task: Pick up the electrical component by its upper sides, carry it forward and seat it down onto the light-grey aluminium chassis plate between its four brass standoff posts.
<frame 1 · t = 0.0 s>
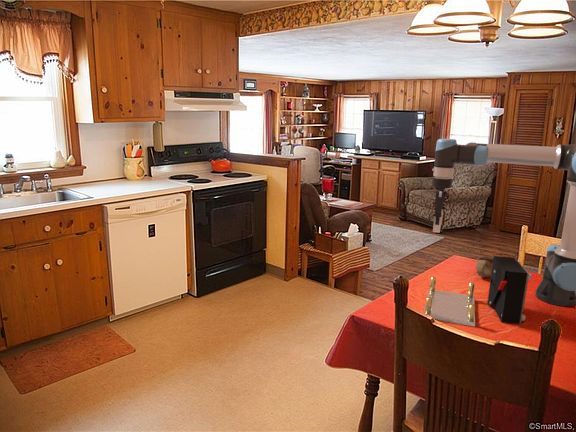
hand: (437, 228, 187), 28 cm above the table, fingers open, 13 cm apart
electrical component: (504, 313, 174), on the table
bowl: (488, 276, 212), on the table
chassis: (449, 307, 177), on the table
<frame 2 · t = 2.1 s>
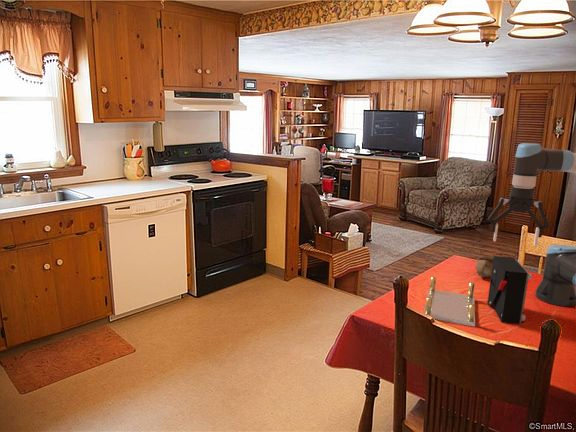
hand: (514, 243, 167), 28 cm above the table, fingers open, 13 cm apart
nothing on the table moved.
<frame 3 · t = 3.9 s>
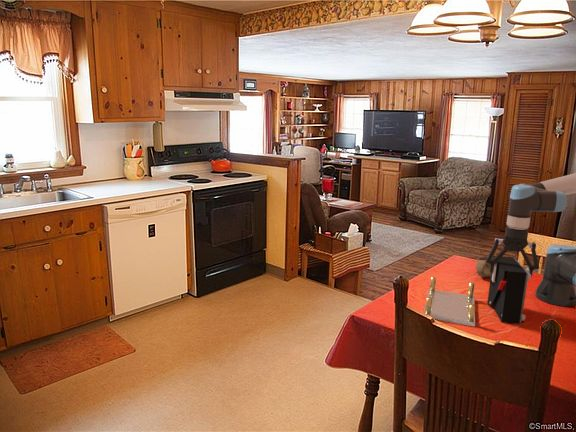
hand: (509, 283, 171), 12 cm above the table, fingers closed on electrical component, 10 cm apart
electrical component: (504, 313, 174), on the table, touching gripper
everything else where it was.
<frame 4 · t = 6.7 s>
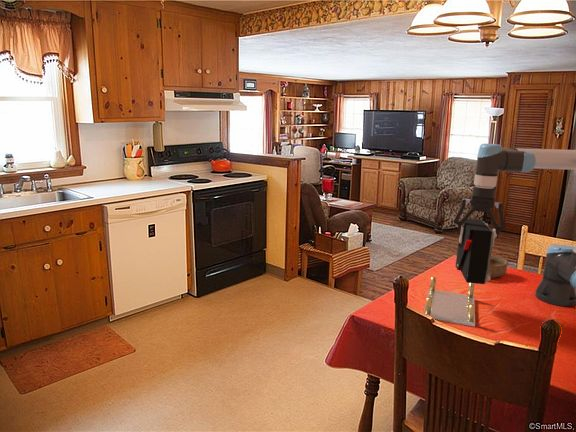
hand: (475, 244, 170), 27 cm above the table, fingers closed on electrical component, 10 cm apart
electrical component: (471, 275, 173), point 14 cm above the table, touching gripper
everything else where it was.
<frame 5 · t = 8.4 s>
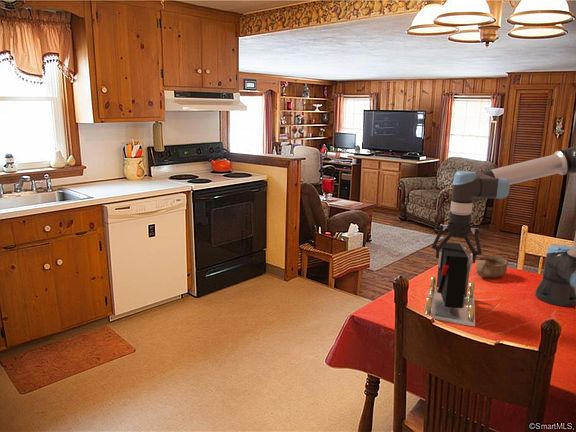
hand: (454, 268, 173), 16 cm above the table, fingers closed on electrical component, 10 cm apart
electrical component: (450, 298, 176), point 4 cm above the table, touching gripper
everything else where it was.
when the fingers open (14 cm above the table, at t = 9.4 s): electrical component stays where it is, resting on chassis.
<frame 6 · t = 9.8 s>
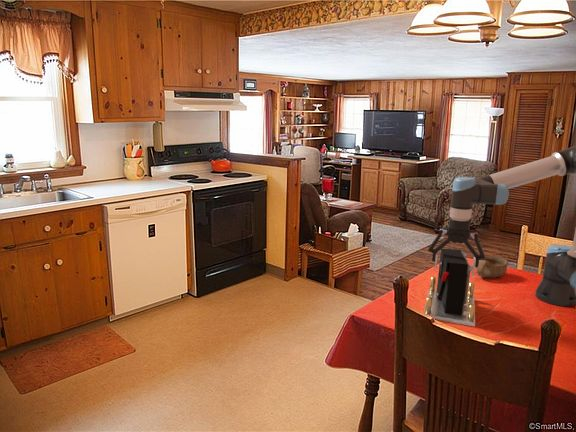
hand: (453, 272, 174), 15 cm above the table, fingers open, 13 cm apart
electrical component: (450, 304, 177), point 1 cm above the table, touching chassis
everything else where it was.
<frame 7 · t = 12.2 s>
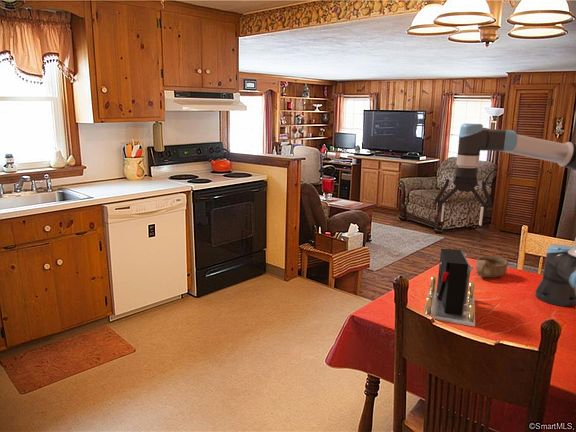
hand: (460, 222, 169), 35 cm above the table, fingers open, 13 cm apart
nothing on the table moved.
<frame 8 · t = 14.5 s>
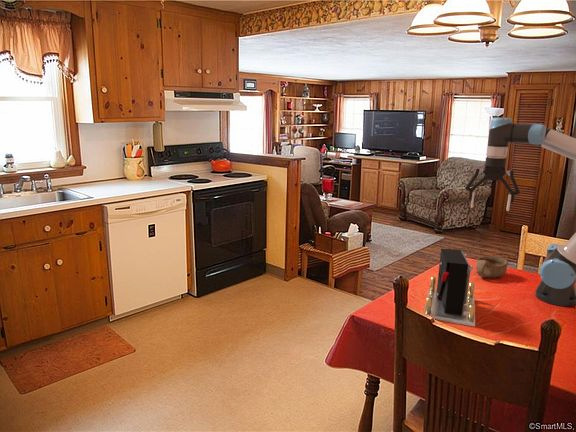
hand: (489, 209, 185), 37 cm above the table, fingers open, 13 cm apart
nothing on the table moved.
at the end: electrical component inside the target area on the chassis (0.1 cm from its centre), point 1.3 cm above the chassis's base; electrical component touching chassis; the gripper is holding nothing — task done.
